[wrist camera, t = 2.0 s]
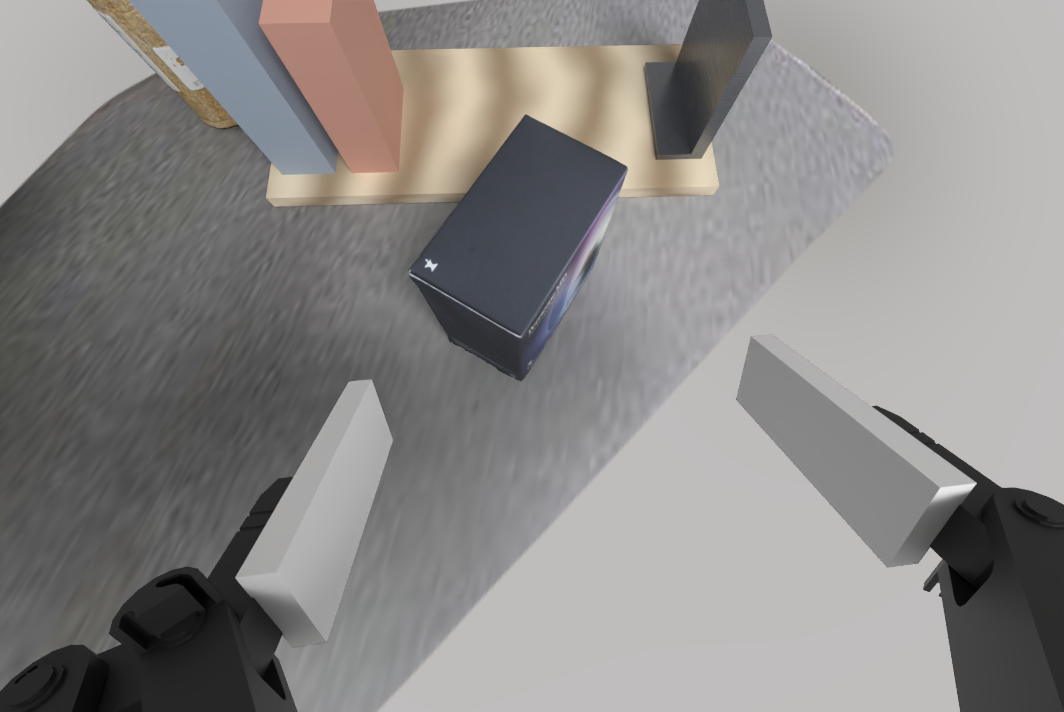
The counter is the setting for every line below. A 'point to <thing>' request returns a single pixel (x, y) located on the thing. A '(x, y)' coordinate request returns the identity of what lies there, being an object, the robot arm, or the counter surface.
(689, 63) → the bookend
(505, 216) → the small box
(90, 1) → the sprinkles bottle
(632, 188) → the shelf board
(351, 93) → the book
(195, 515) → the counter surface
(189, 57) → the book
